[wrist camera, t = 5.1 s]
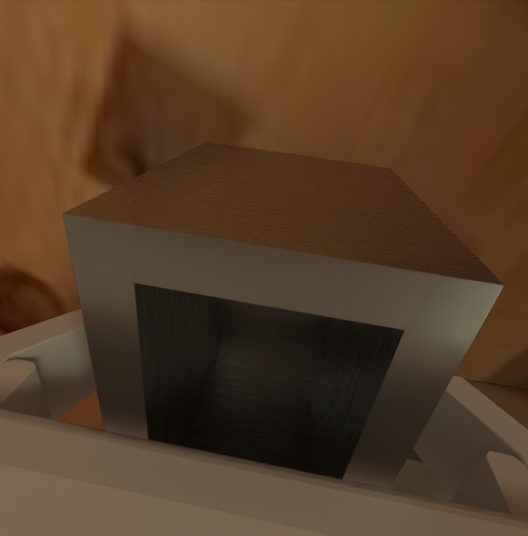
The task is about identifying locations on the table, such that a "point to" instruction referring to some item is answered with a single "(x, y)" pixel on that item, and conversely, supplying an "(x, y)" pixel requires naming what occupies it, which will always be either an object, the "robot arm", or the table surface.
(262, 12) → the table surface
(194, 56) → the table surface
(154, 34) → the table surface
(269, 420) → the housing
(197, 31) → the table surface
